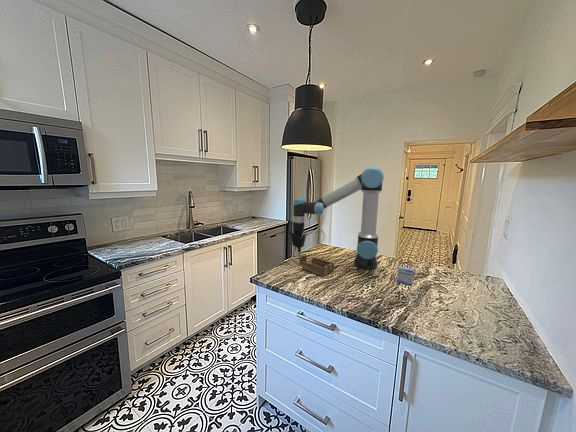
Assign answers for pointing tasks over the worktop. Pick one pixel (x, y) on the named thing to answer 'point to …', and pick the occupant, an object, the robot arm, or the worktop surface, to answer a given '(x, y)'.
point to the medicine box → (405, 275)
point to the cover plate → (298, 261)
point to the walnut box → (318, 267)
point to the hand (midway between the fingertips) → (297, 256)
